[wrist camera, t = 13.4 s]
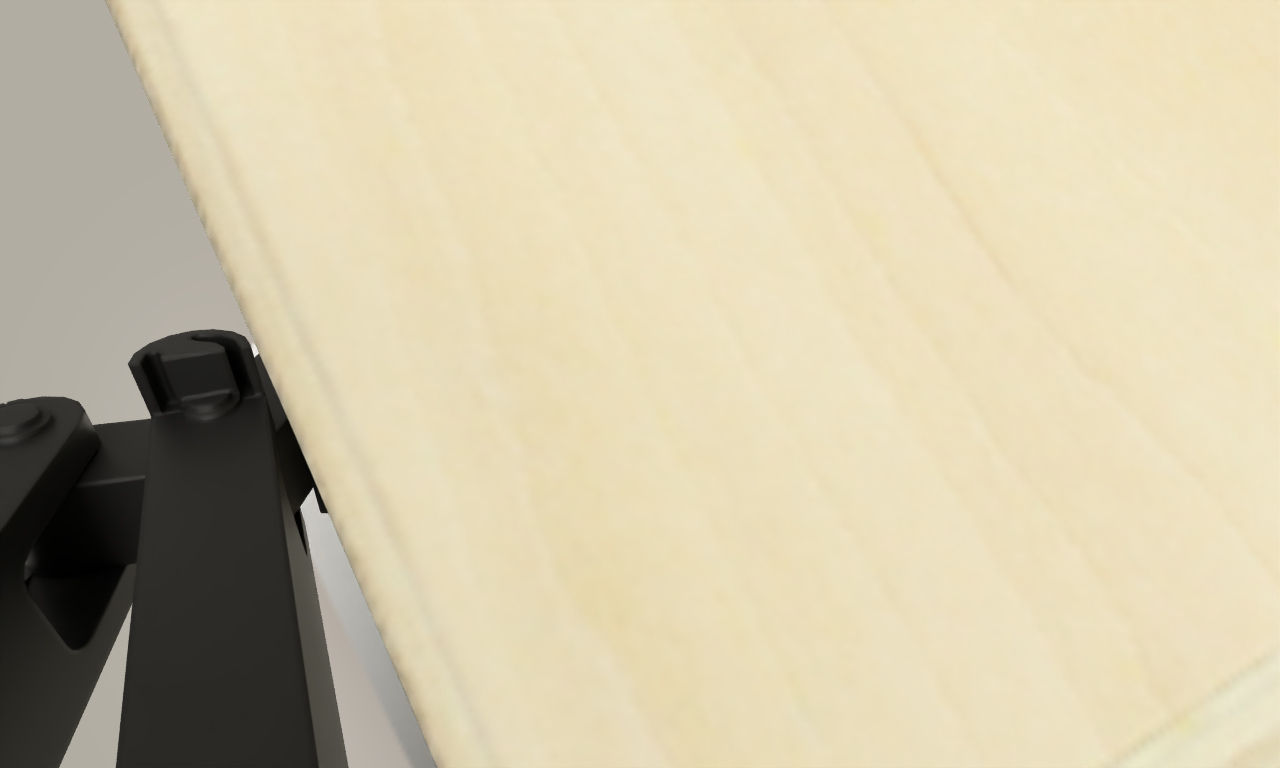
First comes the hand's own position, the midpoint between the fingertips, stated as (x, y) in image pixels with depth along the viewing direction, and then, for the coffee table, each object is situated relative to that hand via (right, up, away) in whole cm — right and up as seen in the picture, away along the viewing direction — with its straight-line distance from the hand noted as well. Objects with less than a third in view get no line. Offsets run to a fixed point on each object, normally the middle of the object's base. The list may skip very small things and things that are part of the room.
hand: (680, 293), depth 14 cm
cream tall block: (-1, -5, +9) cm, 11 cm away
